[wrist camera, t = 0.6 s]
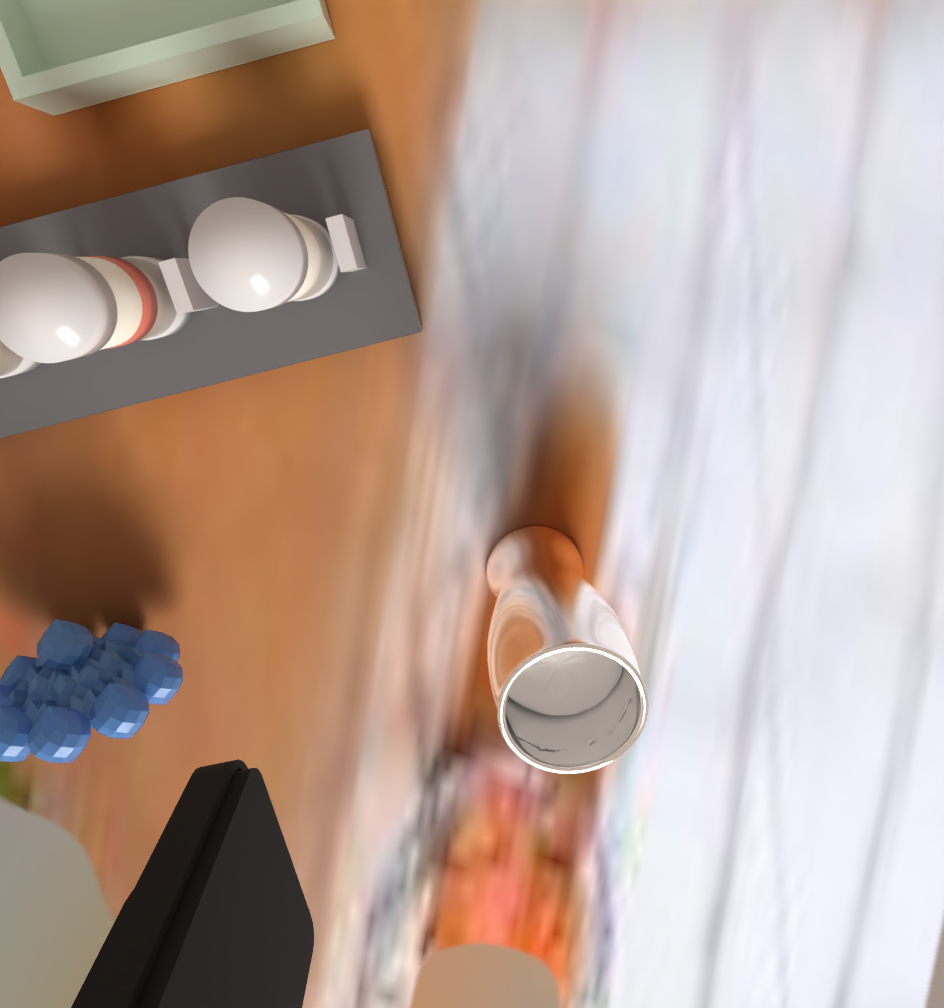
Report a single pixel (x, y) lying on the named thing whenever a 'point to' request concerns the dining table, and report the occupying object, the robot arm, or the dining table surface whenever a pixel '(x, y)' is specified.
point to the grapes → (84, 689)
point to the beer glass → (559, 658)
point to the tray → (140, 44)
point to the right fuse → (260, 255)
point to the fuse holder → (212, 327)
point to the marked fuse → (82, 304)
